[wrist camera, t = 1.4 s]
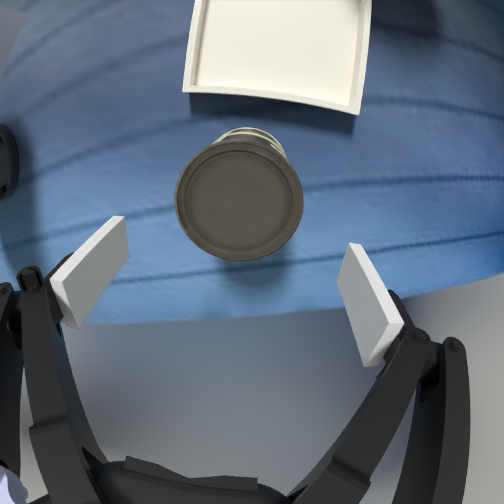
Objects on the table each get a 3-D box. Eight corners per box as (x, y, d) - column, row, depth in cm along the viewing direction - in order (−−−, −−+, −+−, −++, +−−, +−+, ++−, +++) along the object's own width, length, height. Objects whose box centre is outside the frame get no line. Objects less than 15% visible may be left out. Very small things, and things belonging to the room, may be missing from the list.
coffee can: (273, 116, 30) (283, 122, 18) (296, 192, 35) (316, 244, 23) (194, 142, 32) (154, 167, 20) (221, 213, 37) (202, 273, 25)
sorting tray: (188, 92, 29) (182, 91, 26) (209, -37, 19) (205, -46, 16) (350, 114, 29) (358, 115, 27) (364, -14, 19) (372, -22, 17)
